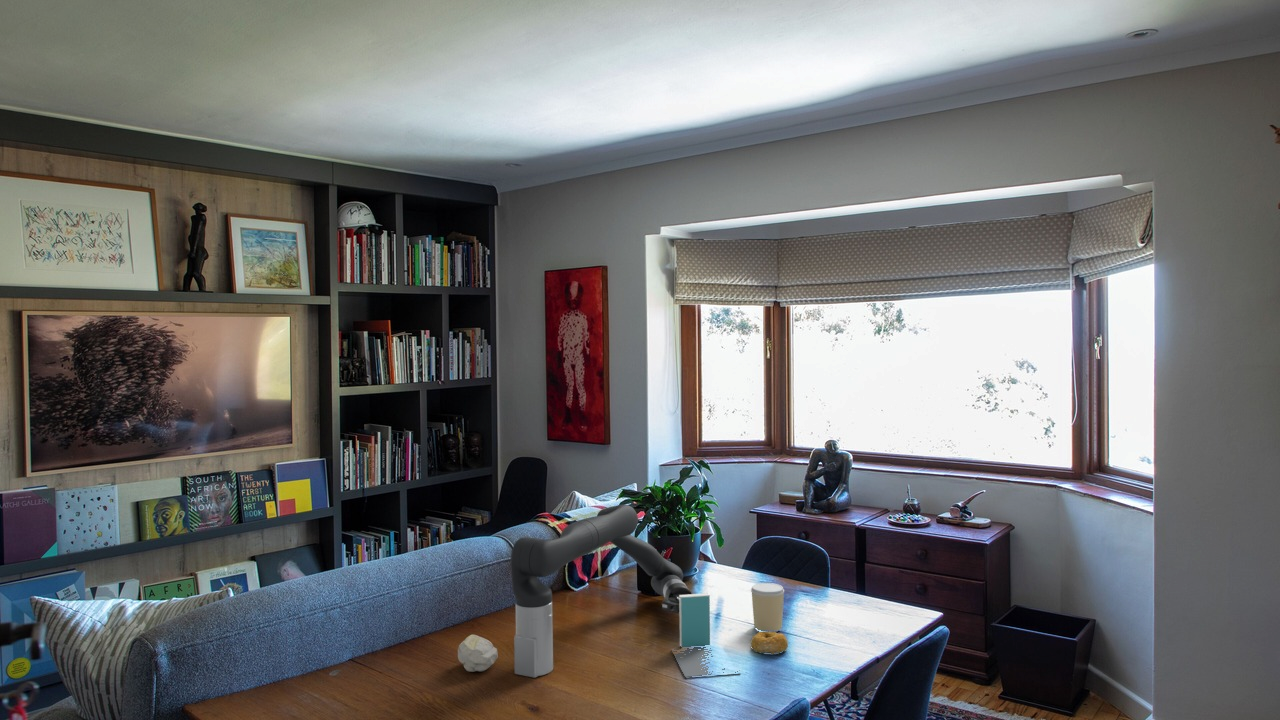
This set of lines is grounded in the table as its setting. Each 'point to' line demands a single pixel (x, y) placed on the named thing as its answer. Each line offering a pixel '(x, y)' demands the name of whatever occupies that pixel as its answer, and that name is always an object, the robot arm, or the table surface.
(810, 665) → the table surface
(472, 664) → the white rock
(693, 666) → the mat
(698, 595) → the tile
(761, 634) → the bagel
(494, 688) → the table surface
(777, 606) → the coffee cup
